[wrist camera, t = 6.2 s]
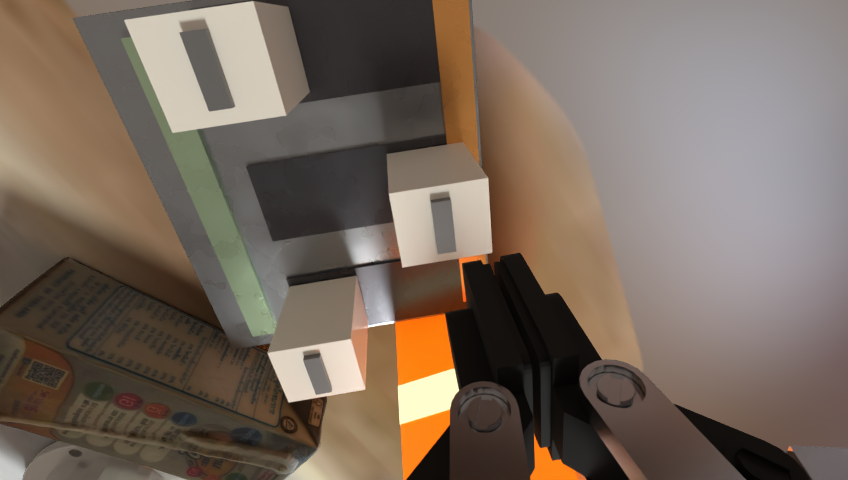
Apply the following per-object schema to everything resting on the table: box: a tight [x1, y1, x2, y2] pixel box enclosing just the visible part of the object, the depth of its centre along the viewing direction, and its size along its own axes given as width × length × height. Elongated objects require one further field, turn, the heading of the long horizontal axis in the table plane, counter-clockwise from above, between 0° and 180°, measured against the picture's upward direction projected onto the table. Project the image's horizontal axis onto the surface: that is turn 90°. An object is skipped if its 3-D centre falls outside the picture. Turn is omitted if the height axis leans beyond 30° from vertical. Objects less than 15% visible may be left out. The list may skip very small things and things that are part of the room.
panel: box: [73, 0, 488, 349], centre depth 23 cm, size 19×17×2 cm
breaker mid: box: [387, 142, 492, 268], centre depth 19 cm, size 4×4×6 cm
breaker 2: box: [267, 276, 368, 402], centre depth 22 cm, size 4×4×6 cm
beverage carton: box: [0, 258, 327, 480], centre depth 26 cm, size 8×19×7 cm, turn 50°
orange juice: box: [396, 315, 578, 480], centre depth 22 cm, size 8×9×20 cm
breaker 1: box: [124, 1, 310, 133], centre depth 16 cm, size 4×4×6 cm
